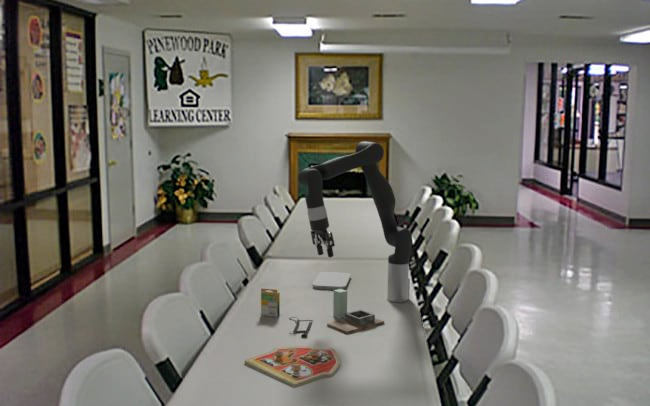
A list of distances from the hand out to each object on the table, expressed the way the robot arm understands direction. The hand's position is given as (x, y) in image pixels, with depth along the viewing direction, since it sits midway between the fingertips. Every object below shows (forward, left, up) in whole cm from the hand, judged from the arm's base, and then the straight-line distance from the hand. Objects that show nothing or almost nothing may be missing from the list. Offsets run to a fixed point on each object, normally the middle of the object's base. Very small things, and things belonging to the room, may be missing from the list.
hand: (325, 255), depth 270 cm
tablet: (-37, -40, -27) cm, 61 cm away
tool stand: (-4, +14, -26) cm, 30 cm away
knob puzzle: (+37, +32, -27) cm, 56 cm away
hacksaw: (+16, +2, -27) cm, 31 cm away
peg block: (-6, +2, -26) cm, 27 cm away
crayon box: (+16, -17, -26) cm, 35 cm away
